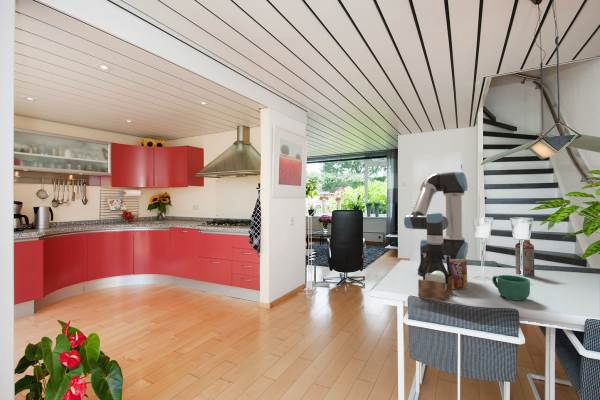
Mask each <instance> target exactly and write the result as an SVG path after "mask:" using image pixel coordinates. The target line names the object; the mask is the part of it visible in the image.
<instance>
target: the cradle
mask: <svg viewBox="0 0 600 400" xmlns="http://www.w3.org/2000/svg"><path fill="white" fill-rule="evenodd" d="M427 274H428V276H429V275H430V274H431V273H427ZM448 279H449V282H448V284H446V290H445V283H442V282H435V281H428V280H423V279H421V278H419V279H417V285H418V287H417V289H418V294H417V295H418V297H420V298H427V299H432V300H437V301H438V300H439V301H444V302H445V301H446V300H447V299H448V297H450V295H451V294H452V292H453V289H452V276H451V277H448Z"/></svg>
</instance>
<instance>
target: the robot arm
mask: <svg viewBox="0 0 600 400" xmlns="http://www.w3.org/2000/svg"><path fill="white" fill-rule="evenodd" d="M467 181H468V180H467V177H466V174H465V173H464V172H463V171H450V172H439V173H438V172H437V173H433V174H432V175H430V176H428V177H426V178H425V179H424V181H423V182H422V183H421V185H420V188H419V191H420V193H419V195H418V196H417V199H416V202H415V204H414V207H413V210H412V212H411V214H410V215H406V216H404V219H403V223H404V224H403V225H404V227H405V228H406V229H410V230H426V238H422V239H420V243H419V244H420V245H419V247H420V249H419V250H420V251H419V252H420V253H419V254H420V258H419V259H420V262H419V265H418V269H417V275H419V276H421V277H422V280H425V278H426V277H427V276H428V274H427V273H432V272H434V271H441V272H443V273H444V275H445V276H444V277H443V282H444V283H445V290H446V284H448V282H449V279H448V277H451V276H452V275H453V274H452V269H451V264H450V259H464V260H467V255H468V251H469V243H468V242H466V241H465V237H463V236H462V235H463V233H462V232H463V231H462V230H463V228H462V227H463V226H462V225H463V224H462V222H463V220H462V219H463V218H462V215H463V213H462V211H463V210H462V209H463V207H462V204H463V203H462V201H463V200H462V198H463V196H464V195H465V192H466V191H468V182H467ZM437 192H442V195H443V196H444V197H445V216H444V215H443V213H441V212H428V210H429V207H430V205H431V202H432V199H433V197H434V196H435V195H436V193H437ZM427 212H428V213H427ZM444 231H445V236H444ZM443 260H445V263H446V267H445V264H444V261H443ZM447 268H448V273H449V274H448V273H447Z"/></svg>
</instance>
